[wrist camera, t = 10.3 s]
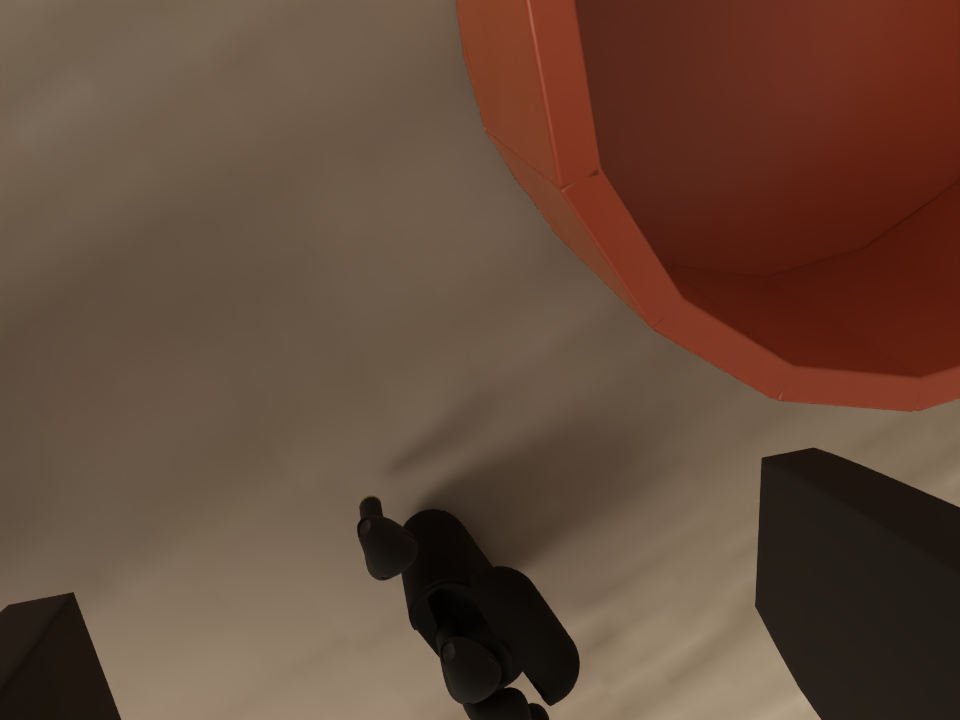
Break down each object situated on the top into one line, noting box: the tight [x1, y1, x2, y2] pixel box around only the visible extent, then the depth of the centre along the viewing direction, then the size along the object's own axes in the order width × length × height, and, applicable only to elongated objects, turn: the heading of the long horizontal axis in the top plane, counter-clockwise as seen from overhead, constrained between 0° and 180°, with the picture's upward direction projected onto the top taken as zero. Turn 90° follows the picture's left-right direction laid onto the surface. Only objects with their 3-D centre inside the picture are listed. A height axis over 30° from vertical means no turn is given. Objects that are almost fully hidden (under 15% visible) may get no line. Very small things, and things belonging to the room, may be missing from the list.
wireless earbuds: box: [357, 496, 580, 720], centre depth 17 cm, size 7×2×5 cm, turn 29°
